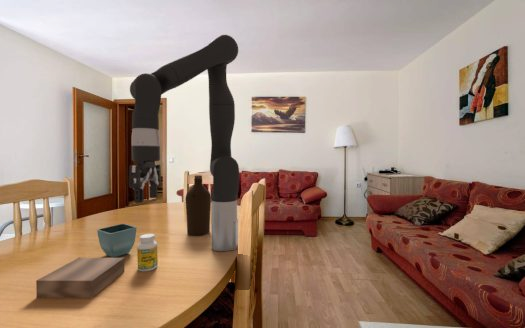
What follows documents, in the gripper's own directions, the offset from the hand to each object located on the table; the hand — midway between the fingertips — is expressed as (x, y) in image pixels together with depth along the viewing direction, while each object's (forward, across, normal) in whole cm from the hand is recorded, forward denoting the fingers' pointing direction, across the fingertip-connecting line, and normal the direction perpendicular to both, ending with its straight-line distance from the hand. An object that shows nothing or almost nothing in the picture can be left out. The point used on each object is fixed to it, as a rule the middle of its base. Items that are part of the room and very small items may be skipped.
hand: (146, 200), depth 72 cm
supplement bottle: (+20, 0, 0) cm, 20 cm away
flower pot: (+20, +10, +15) cm, 27 cm away
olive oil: (+20, +34, -6) cm, 40 cm away
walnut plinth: (+20, -9, +12) cm, 25 cm away
